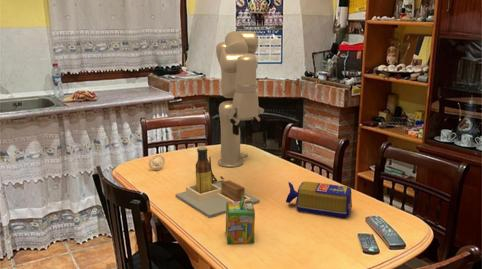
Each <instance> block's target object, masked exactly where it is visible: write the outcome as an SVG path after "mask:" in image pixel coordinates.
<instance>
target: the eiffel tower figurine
mask: <svg viewBox="0 0 482 269" xmlns="http://www.w3.org/2000/svg"><path fill="white" fill-rule="evenodd" d="M211 158H212V156H209V158H208V161H209V164H210V167H211V179H212V184H216V183H220V182H224V181H225V177H224V176H219V178H220V180H218V179H217V178H216V176H215V175H214V173H213V170H212V169H213V168H212V159H211Z"/></svg>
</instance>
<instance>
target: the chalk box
mask: <svg viewBox="0 0 482 269" xmlns="http://www.w3.org/2000/svg"><path fill="white" fill-rule="evenodd" d="M255 219H256V213H255V207H254V204H253V203H252V201H244V197H243V195H242V198H241V201H240V202H226V213H225V235H226V242H227V245H234V244H235V245H237V244H238V245H239V244H241V245H242V244H255V225H256V224H255Z"/></svg>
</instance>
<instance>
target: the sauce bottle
mask: <svg viewBox="0 0 482 269" xmlns="http://www.w3.org/2000/svg"><path fill="white" fill-rule="evenodd" d="M196 153H197V161H196V163H195V182H196V186H197V192H198V193H200V194H202V193H206V192H209V191H212V179H211V168H212V166H211V167H210V164H209V158H208V148H207V147H205V146H199V147H197V149H196Z"/></svg>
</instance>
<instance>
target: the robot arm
mask: <svg viewBox="0 0 482 269" xmlns="http://www.w3.org/2000/svg"><path fill="white" fill-rule="evenodd" d="M258 47H259V37H258V35H257V33H256V32H255V31H252V30H233V31H229V32H228V33H227V34H226V35H225V37H224V42H220V43H218V44H216V47H215V54H216V58H217V61H218V63H219V66H220V71H221V72H220V74H221V75H220V77H221V80H220V81H221V94H222V97H224V98H226V99H232V100H226V101H222V102H221V103H219V106H218V114H219V121H220V159H219V160H217V165H219V166H221V167H224V168H238V167H241V166H242V165H243V164H244V160H243V159H246V158H248V153H243V152H241V128H240V125H239V123H240V122H241V121H251V120H252V125H251V126H252V129H251V130H252V131H255V132H259V130H260V129H259V128H260V121H261V119H262V117H263V114H264V112H265V109H264V108H262V107H260V106H259V95H258V92H257V89H258V88H259V86H258V84H257V69H258V66H259V65H258V64H259V62H258V58H257V55H256V52H257V51H258Z"/></svg>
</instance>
